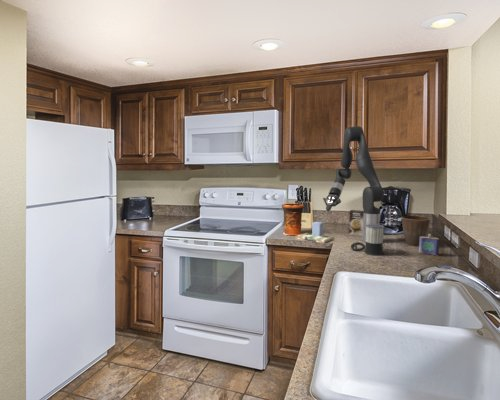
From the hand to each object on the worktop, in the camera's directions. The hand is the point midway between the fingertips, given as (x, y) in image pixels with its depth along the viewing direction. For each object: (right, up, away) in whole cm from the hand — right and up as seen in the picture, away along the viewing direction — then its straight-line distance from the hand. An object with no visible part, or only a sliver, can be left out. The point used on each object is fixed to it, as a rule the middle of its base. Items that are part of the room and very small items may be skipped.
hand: (327, 210), depth 226 cm
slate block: (-8, -15, -9) cm, 20 cm away
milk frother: (+12, -21, -41) cm, 48 cm away
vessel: (-22, -16, +5) cm, 28 cm away
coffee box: (+20, -16, +3) cm, 26 cm away
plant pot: (+45, -20, -25) cm, 55 cm away
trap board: (-10, -18, -11) cm, 24 cm away
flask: (+42, -22, -46) cm, 66 cm away
